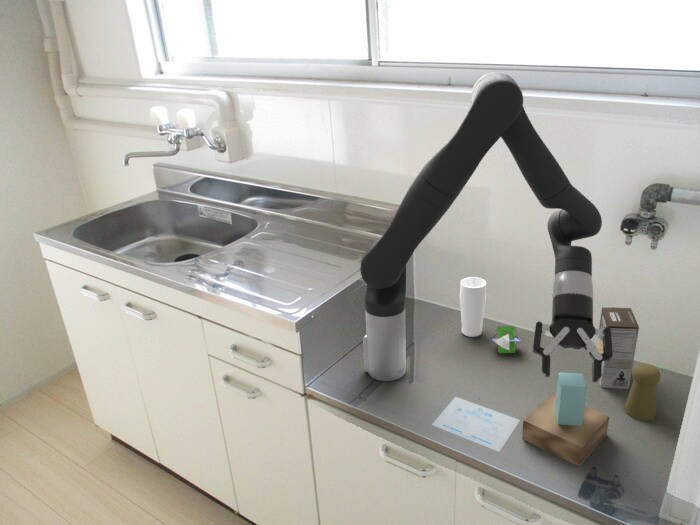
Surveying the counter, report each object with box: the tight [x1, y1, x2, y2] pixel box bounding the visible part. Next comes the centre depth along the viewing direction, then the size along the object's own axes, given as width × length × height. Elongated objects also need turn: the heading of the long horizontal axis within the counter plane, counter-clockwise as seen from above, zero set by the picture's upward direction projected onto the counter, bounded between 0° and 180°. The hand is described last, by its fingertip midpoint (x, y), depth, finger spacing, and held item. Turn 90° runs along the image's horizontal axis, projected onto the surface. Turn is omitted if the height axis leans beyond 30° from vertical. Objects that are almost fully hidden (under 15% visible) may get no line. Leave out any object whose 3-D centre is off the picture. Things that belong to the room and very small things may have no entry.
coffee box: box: [596, 306, 640, 390], centre depth 134 cm, size 9×6×16 cm
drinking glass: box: [459, 276, 488, 338], centre depth 156 cm, size 7×7×15 cm
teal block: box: [554, 372, 588, 426], centre depth 116 cm, size 4×4×9 cm
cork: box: [623, 363, 662, 422], centre depth 123 cm, size 6×6×11 cm
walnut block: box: [521, 392, 610, 468], centre depth 118 cm, size 12×12×5 cm
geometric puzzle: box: [490, 325, 522, 354], centre depth 148 cm, size 7×7×8 cm
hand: (571, 378), depth 112 cm, fingers open, 8 cm apart
